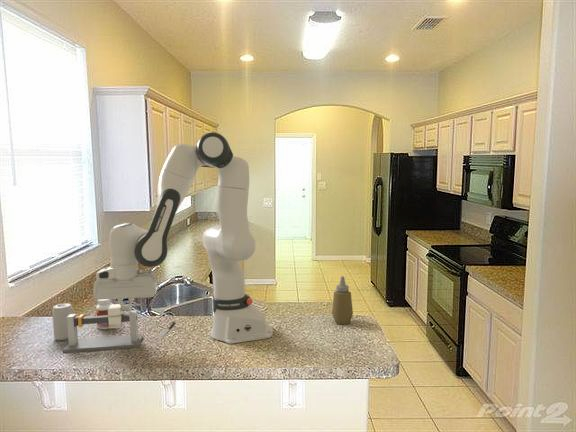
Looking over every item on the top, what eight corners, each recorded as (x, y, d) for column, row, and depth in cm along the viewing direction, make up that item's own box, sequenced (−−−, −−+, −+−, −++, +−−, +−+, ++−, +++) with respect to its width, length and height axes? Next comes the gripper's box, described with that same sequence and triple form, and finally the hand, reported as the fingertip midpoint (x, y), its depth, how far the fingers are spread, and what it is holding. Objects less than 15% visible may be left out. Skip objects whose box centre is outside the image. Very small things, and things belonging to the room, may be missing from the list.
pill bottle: (93, 328, 165) (91, 300, 164) (105, 323, 171) (104, 295, 170) (106, 330, 163) (104, 301, 162) (118, 325, 168) (116, 297, 167)
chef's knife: (149, 344, 151) (158, 343, 151) (149, 341, 151) (157, 340, 151) (168, 324, 170) (175, 323, 170) (168, 321, 170) (175, 321, 170)
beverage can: (69, 333, 161) (67, 301, 159) (77, 337, 157) (75, 304, 155) (51, 338, 156) (48, 305, 154) (59, 342, 152) (56, 309, 150)
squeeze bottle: (329, 324, 166) (329, 278, 164) (335, 317, 173) (335, 273, 171) (349, 327, 163) (349, 280, 161) (355, 320, 170) (355, 275, 168)
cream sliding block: (124, 322, 152) (123, 303, 151) (121, 327, 148) (120, 308, 147) (112, 323, 152) (111, 304, 151) (108, 328, 147) (107, 308, 146)
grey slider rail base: (143, 337, 156) (141, 307, 155) (138, 347, 147) (136, 315, 146) (72, 341, 152) (69, 311, 151) (62, 352, 143) (60, 320, 142)
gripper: (157, 267, 153) (159, 305, 154) (96, 270, 150) (98, 309, 151) (154, 271, 146) (156, 311, 148) (90, 274, 144) (92, 315, 145)
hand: (126, 310), depth 150 cm, fingers closed
